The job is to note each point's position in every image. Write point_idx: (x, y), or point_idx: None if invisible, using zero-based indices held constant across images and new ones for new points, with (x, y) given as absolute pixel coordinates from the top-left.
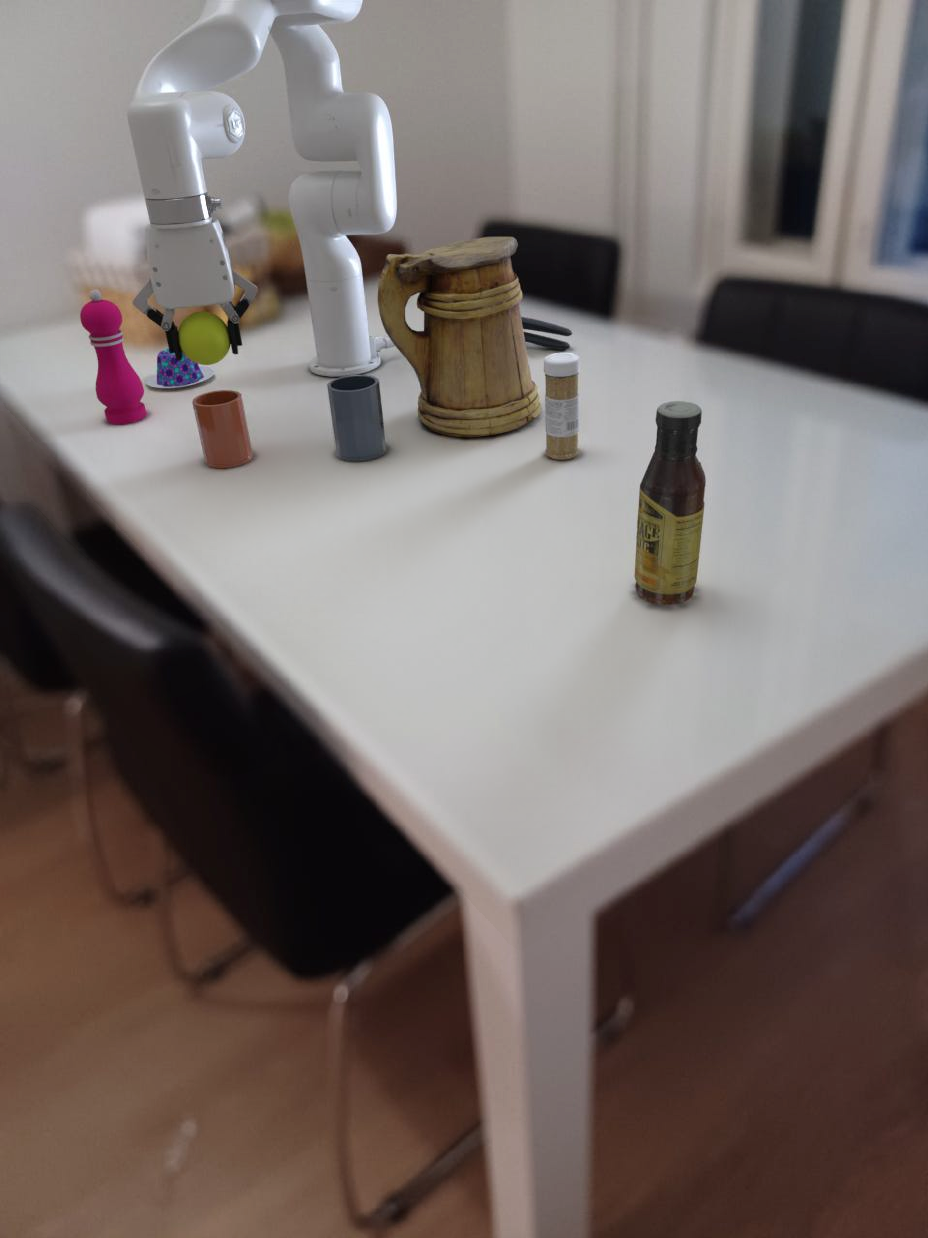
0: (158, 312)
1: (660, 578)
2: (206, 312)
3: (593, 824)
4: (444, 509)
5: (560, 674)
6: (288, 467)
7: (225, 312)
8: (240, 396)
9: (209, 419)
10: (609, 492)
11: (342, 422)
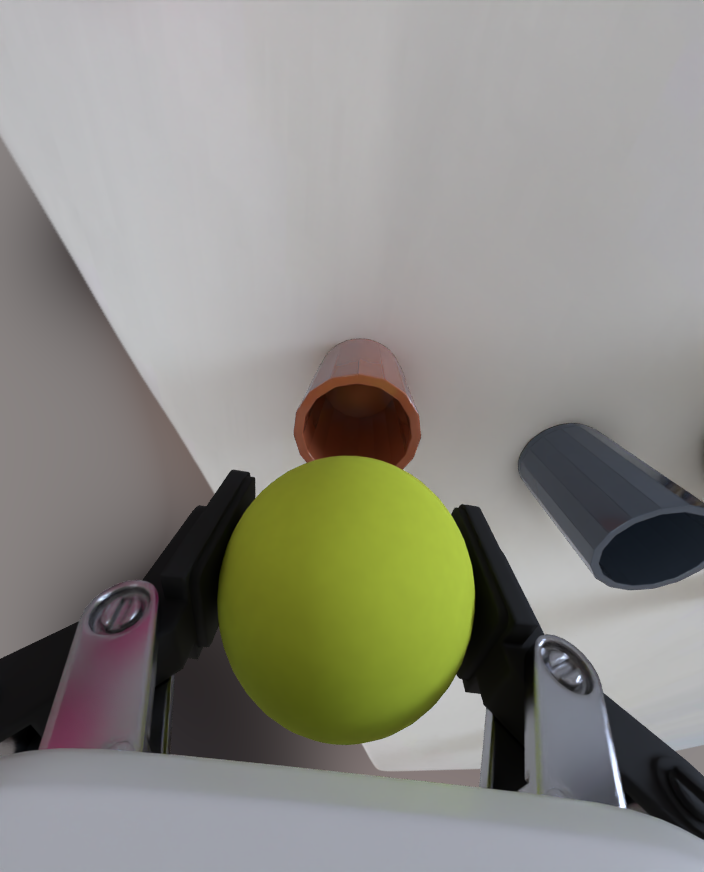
0: (22, 721)
1: None
2: (384, 730)
3: (415, 768)
4: None
5: (458, 735)
6: (437, 458)
7: (483, 771)
8: (412, 455)
9: None
10: (676, 646)
11: (555, 524)
